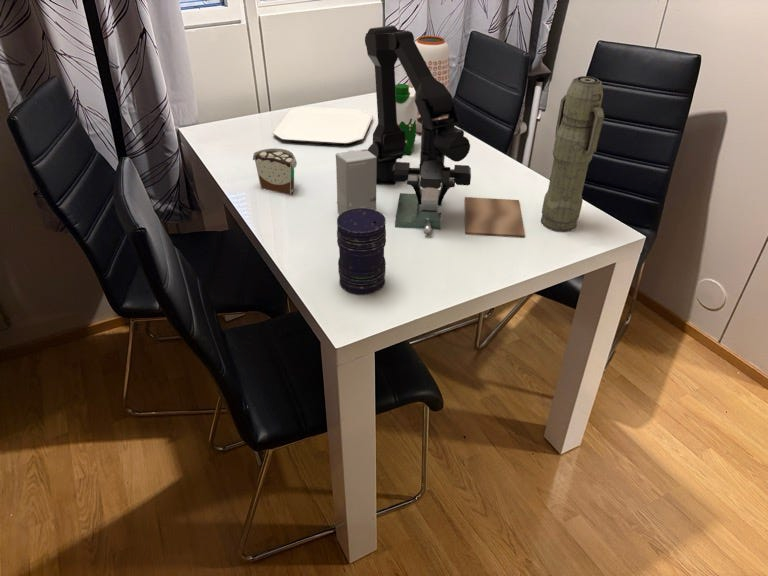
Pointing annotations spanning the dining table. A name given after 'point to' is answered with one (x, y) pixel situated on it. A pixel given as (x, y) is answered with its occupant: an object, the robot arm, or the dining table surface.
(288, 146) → the dining table surface
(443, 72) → the planter
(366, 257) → the storage jar
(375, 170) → the skincare box
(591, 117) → the thermos
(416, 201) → the green base
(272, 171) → the food container
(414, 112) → the milk carton
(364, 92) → the dining table surface
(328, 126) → the plate
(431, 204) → the steel bar
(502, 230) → the walnut mat
